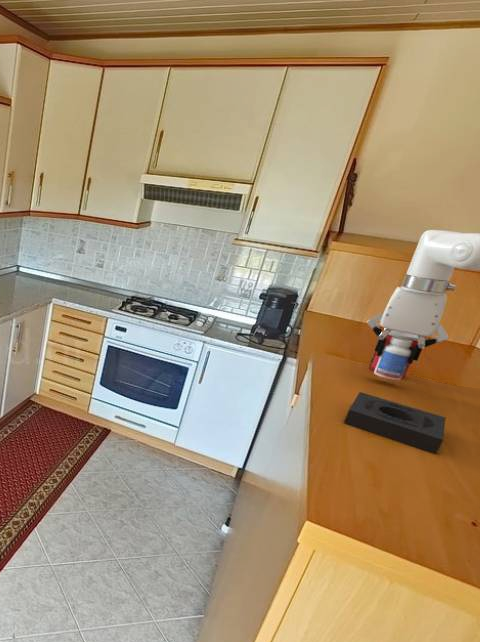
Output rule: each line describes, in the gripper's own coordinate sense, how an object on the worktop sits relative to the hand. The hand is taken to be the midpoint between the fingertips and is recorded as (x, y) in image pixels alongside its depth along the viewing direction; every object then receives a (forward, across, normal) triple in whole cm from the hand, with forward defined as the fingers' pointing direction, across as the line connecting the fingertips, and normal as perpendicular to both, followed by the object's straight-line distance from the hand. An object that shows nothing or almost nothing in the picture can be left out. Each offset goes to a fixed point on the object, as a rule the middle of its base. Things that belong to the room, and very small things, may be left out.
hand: (394, 357), depth 118 cm
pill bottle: (+5, 0, 0) cm, 5 cm away
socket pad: (+7, -4, +30) cm, 32 cm away
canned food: (+7, +1, -12) cm, 14 cm away
